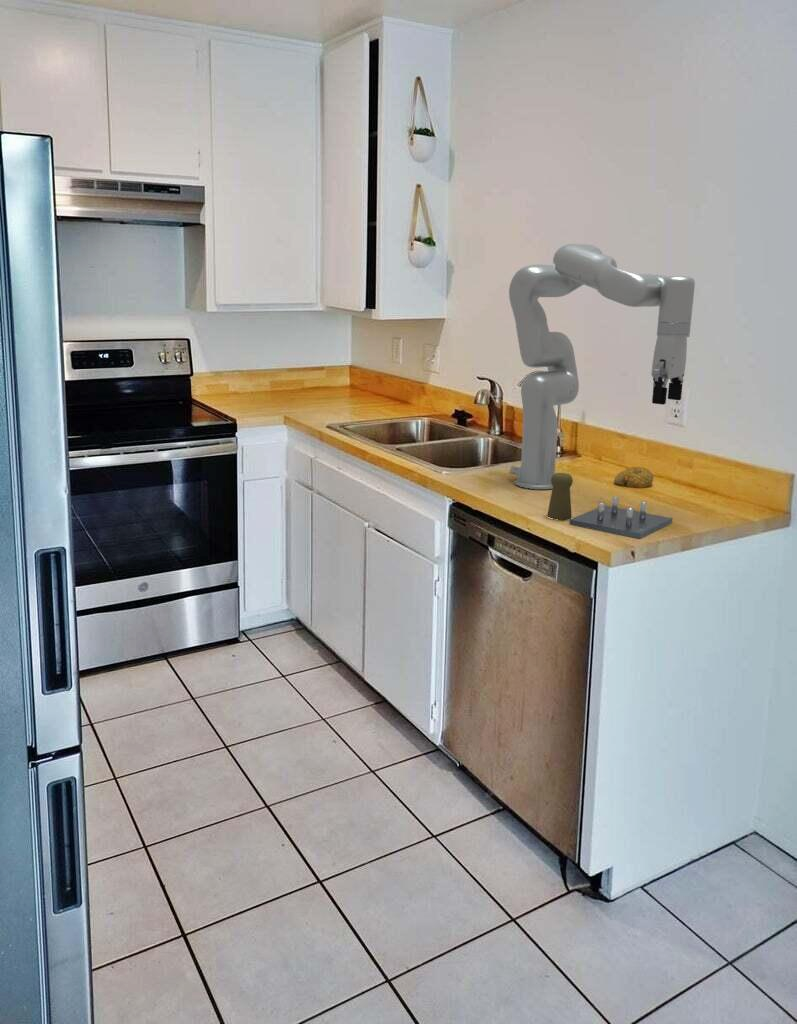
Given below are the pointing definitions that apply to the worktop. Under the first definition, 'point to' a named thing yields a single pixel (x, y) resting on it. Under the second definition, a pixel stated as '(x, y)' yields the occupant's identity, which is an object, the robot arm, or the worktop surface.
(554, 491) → the olive tapered piece
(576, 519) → the pin plate
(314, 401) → the worktop surface
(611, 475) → the worktop surface
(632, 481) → the bagel
